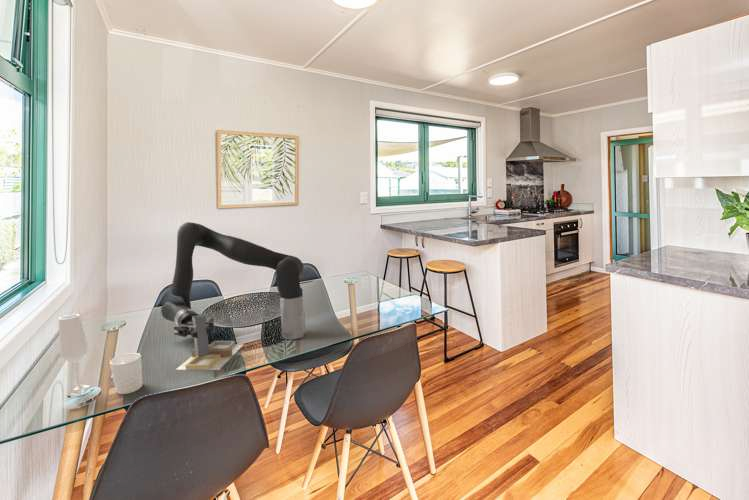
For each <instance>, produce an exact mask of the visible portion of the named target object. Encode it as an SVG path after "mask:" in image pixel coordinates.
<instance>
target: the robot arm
mask: <svg viewBox="0 0 749 500" xmlns="http://www.w3.org/2000/svg"><path fill="white" fill-rule="evenodd" d="M176 242H177V243H176V260H175V268H174V273H173V278H172V283H171V288H170V294H171V295H173V296H174V297H175V296H176V297H180V298H181V299H182V300H180V301H179V300H177V301H176V300H175V301H174V300H168V301H166V302H164V303H163V304H162V306H161V309H160V313H161V316H162V317H163V318H164V319H165V320H168V321H170V322H174V323H175V325H176V326H174V327H173V334H174V335H175V336H179V337H183V338H187V337H188V336H189V337H191V338H193V339H194V338H198V334H197V331H196V330H194V329H193V323H192V316H194V315H198V312H196V311H194V310H193V309H192V305H191V289H192V286H193V285H192V284H193V281H194V280H193V279H194V266H193V254H194V250H195V248H196V247H201V248H206V249H211V250H213V251H216V252H218V253H219V254H221V255H223V256H224V257H226V258H228V259H230V260H232V261H234V262H238V263H241V264H244V265H248V266H253V267H254V266H256V267H263V268H269V269H272V270H275V275H276V277H275V278H276V285H277V291H278V293H279V306H280V322H281V323H280V324H281V337H282V338H283V339H285V340H297V339H303V338H304V337H305V334H306V333H307V329H306V328H307V327H306V311H304V299H303V298H304V295H303V289H302V287H301V282H300V276H301V275H302V273H303V271H304V264H303V262H302V260H301V259H300V258H298V257H297V256H294V255H290V254H284V253H281V252H277V251H274V250H271V249H269V248H267V247H264V246H261V245H258V244H257V243H253V242H251V241H248V240H246V239H242V238H240V237H236V236H232V235H226V234H222V233H220V232H217V231H215V230H213V229H211V228H208V227H207V226H205V225H203V224H200V223H197V222H196V223H195V222H191V221H189V222H183V223H182V224H181V225H180V226H179V228H178V230H177V237H176ZM214 320H215V319H214V318H212V317H211V318H210V319H208V320H206V322H207V335H208V336H210V335H211V334H212V332H213V330H215V329H214V328H215V321H214Z"/></svg>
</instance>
